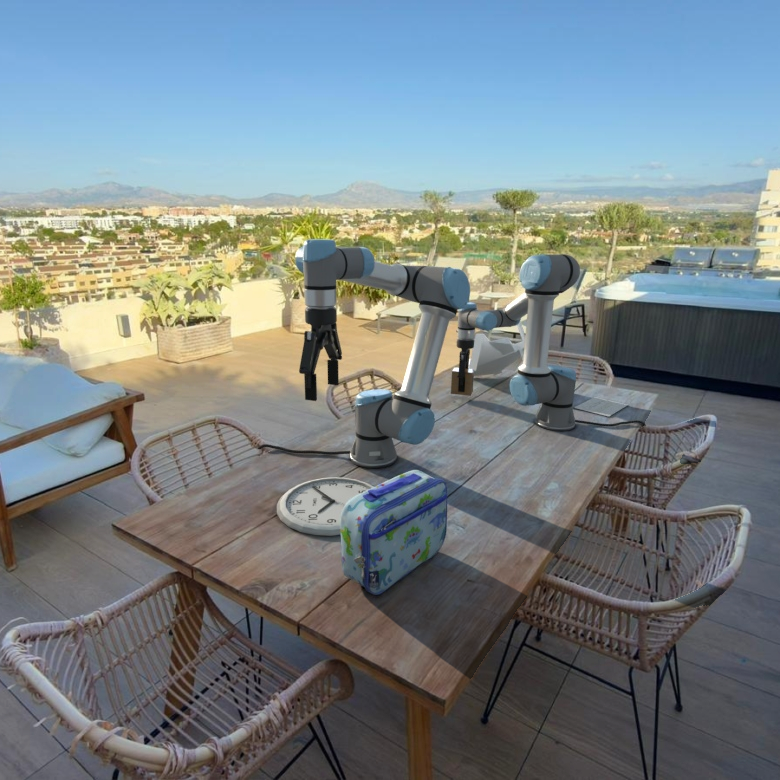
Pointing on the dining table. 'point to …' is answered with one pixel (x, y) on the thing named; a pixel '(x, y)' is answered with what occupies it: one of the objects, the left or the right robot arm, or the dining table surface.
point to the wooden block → (468, 382)
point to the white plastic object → (495, 354)
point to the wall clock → (318, 504)
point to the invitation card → (601, 406)
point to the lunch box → (393, 529)
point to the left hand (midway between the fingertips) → (322, 392)
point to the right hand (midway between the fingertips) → (462, 389)
